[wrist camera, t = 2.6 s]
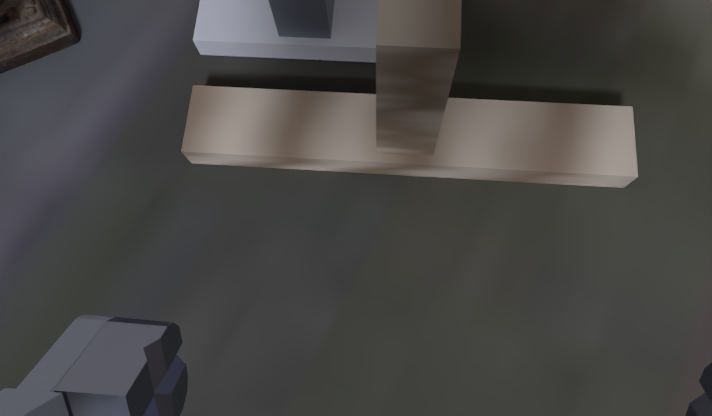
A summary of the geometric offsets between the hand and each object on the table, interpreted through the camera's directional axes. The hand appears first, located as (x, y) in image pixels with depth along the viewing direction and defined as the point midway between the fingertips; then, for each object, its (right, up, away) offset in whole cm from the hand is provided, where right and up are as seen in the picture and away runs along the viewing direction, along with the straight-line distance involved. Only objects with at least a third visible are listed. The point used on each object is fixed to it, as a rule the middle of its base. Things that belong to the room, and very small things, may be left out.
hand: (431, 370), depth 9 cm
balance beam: (+2, +6, +23) cm, 24 cm away
